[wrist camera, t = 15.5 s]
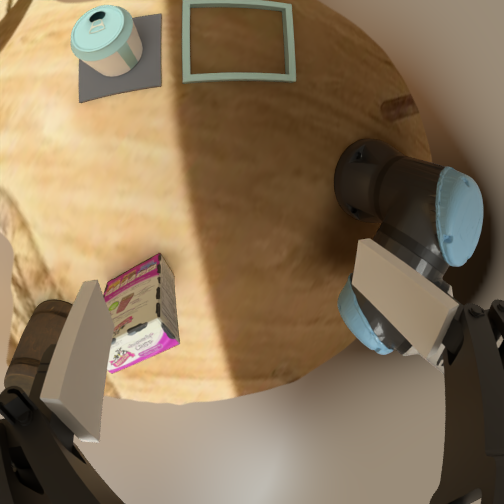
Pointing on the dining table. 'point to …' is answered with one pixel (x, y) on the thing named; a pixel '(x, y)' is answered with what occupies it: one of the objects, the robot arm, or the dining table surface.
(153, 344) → the candy bar box
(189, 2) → the corral
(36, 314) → the wooden container
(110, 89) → the coaster
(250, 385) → the dining table surface
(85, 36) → the can
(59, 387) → the robot arm
